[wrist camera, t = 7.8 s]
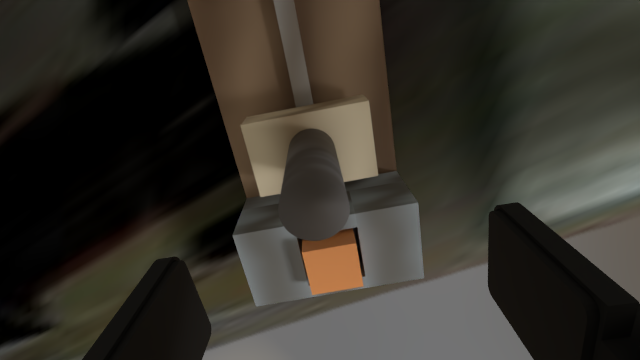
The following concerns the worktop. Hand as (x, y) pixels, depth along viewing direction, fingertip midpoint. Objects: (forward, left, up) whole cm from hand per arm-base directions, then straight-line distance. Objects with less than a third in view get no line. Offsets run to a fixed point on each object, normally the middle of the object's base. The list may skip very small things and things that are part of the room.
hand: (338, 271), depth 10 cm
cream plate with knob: (+1, 0, -14) cm, 15 cm away
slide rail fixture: (+1, -2, -17) cm, 17 cm away
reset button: (+1, +7, -12) cm, 14 cm away
